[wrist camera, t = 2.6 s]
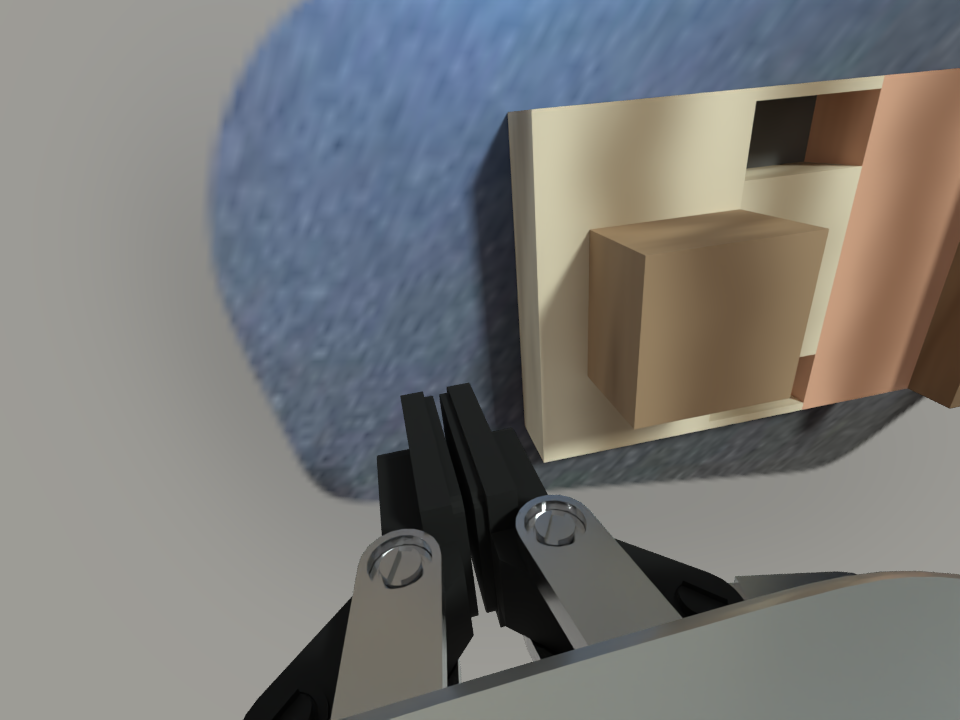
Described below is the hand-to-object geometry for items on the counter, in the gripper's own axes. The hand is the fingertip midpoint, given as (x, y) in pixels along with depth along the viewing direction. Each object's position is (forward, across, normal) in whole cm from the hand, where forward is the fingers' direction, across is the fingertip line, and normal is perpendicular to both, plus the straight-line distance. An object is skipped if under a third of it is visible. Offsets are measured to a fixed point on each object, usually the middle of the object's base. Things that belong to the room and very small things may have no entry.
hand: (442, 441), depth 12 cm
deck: (+9, -15, 0) cm, 18 cm away
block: (+6, -10, 0) cm, 12 cm away
